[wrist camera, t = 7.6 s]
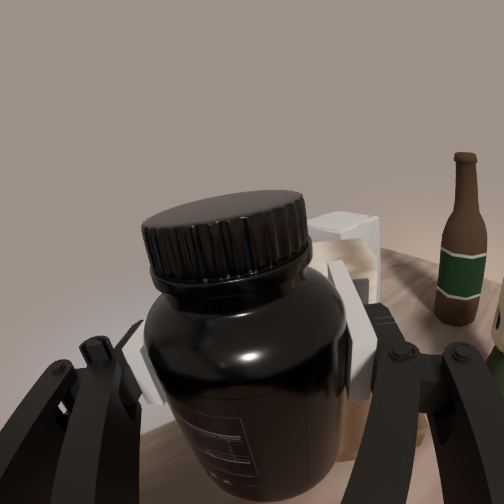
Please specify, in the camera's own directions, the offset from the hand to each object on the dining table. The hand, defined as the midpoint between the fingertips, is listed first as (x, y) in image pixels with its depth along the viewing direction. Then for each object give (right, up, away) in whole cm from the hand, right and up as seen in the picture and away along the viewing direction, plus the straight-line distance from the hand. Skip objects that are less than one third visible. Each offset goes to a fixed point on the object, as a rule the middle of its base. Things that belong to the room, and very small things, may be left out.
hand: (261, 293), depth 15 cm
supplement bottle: (0, -8, -3) cm, 8 cm away
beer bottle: (+31, -8, +22) cm, 39 cm away
